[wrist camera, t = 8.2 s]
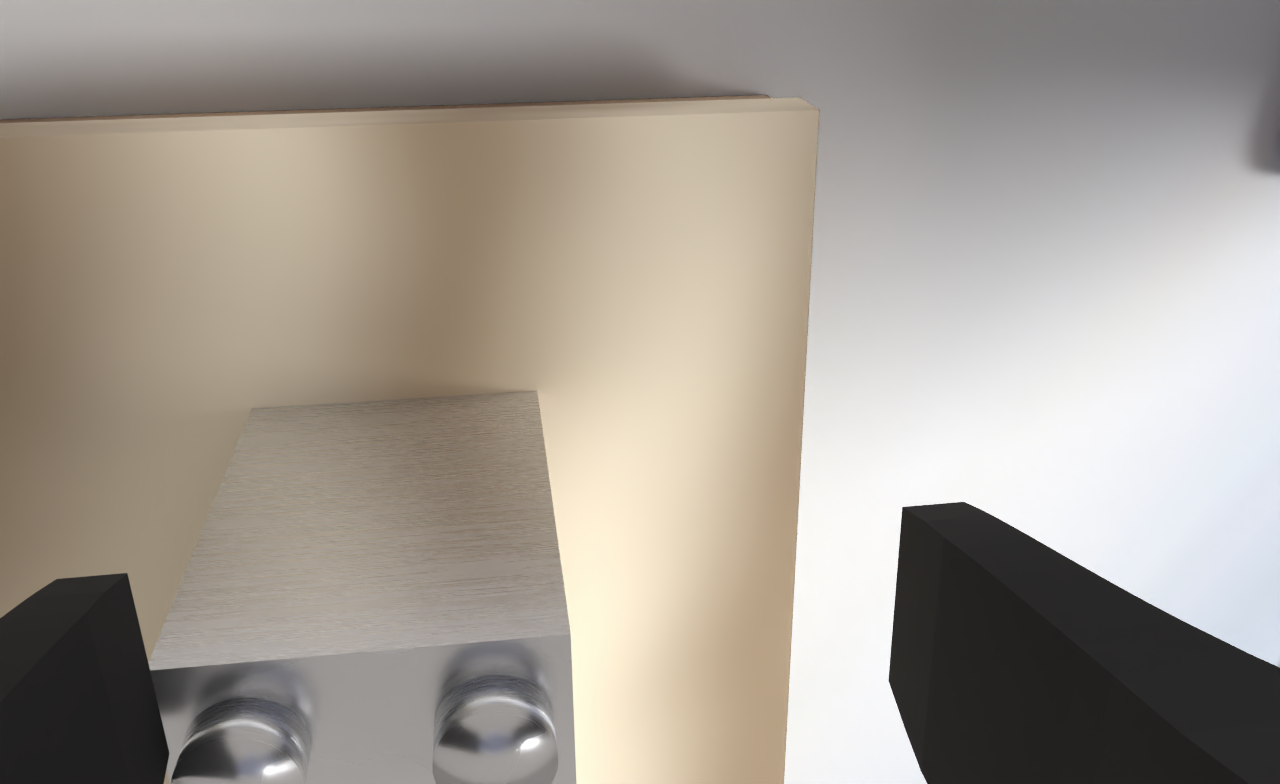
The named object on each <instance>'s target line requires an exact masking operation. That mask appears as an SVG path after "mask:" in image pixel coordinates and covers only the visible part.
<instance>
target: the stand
mask: <svg viewBox="0 0 1280 784" xmlns="http://www.w3.org/2000/svg"><path fill="white" fill-rule="evenodd" d="M818 126H819V109H817V108H816V107H814V106H813V105H811V104H809V103H808V102H806V101H805V100H803V99H802V98H800V97H796V98H770V97H769V96H768V95H754V96H723V97H692V98H660V99H629V100H598V101H567V102H535V103H504V104H473V105H442V106H410V107H379V108H348V109H317V110H285V111H254V112H223V113H192V114H160V115H129V116H98V117H66V118H35V119H4V120H0V618H1V617H3V616H4V615H5V614H7V613H8V612H9V611H11V610H12V609H13V608H15V607H16V606H17V605H19V604H20V603H22V602H23V601H24V600H26V599H27V598H28V597H30V596H31V595H33V594H34V593H36V592H37V591H39V590H40V589H42V588H43V587H45V586H46V585H48V584H50V583H51V582H53V581H54V580H56V579H62V578H74V577H85V576H97V575H109V574H121V573H127V574H128V578H129V582H130V587H131V591H132V595H133V599H134V604H135V608H136V612H137V617H138V621H139V625H140V629H141V634H142V638H143V642H144V647H145V651H146V655H147V659H148V663H149V661H150V658H151V656H152V653H153V651H154V648H155V646H156V643H157V641H158V638H159V636H160V633H161V631H162V628H163V626H164V623H165V621H166V619H167V616H168V614H169V611H170V609H171V606H172V604H173V601H174V599H175V596H176V594H177V591H178V589H179V586H180V584H181V582H182V579H183V577H184V574H185V572H186V569H187V567H188V564H189V562H190V559H191V557H192V554H193V552H194V549H195V547H196V544H197V542H198V540H199V537H200V535H201V532H202V530H203V527H204V525H205V522H206V520H207V517H208V515H209V512H210V510H211V507H212V505H213V503H214V500H215V498H216V495H217V493H218V490H219V488H220V485H221V483H222V480H223V478H224V475H225V473H226V470H227V468H228V465H229V463H230V461H231V458H232V456H233V453H234V451H235V448H236V446H237V443H238V441H239V438H240V436H241V433H242V431H243V428H244V426H245V424H246V421H247V419H248V416H249V414H250V411H251V409H252V408H261V407H278V406H294V405H311V404H327V403H343V402H360V401H376V400H392V399H409V398H425V397H442V396H458V395H474V394H491V393H507V392H523V391H537V392H538V399H539V406H540V414H541V421H542V428H543V436H544V443H545V450H546V457H547V465H548V472H549V479H550V487H551V494H552V501H553V509H554V516H555V523H556V530H557V538H558V545H559V552H560V560H561V567H562V574H563V581H564V589H565V596H566V603H567V611H568V618H569V625H570V632H571V654H572V680H573V706H574V732H575V759H576V784H784V770H785V751H786V732H787V713H788V694H789V675H790V656H791V637H792V618H793V599H794V580H795V561H796V542H797V524H798V505H799V486H800V467H801V448H802V429H803V410H804V391H805V372H806V353H807V334H808V315H809V296H810V277H811V258H812V239H813V220H814V201H815V182H816V164H817V145H818ZM164 784H170V782H169V778H168V773H167V769H166V774H165V779H164Z"/></svg>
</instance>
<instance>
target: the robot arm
mask: <svg viewBox="0 0 1280 784" xmlns="http://www.w3.org/2000/svg"><path fill="white" fill-rule="evenodd" d="M889 683H890V686H891V689H892V692H893V694H894V697H895V700H896V703H897V706H898V709H899V712H900V715H901V718H902V721H903V724H904V726H905V729H906V732H907V735H908V737H909V740H910V743H911V745H912V748H913V751H914V753H915V756H916V759H917V761H918V764H919V767H920V769H921V772H922V774H923V776H924V778H925V780H926V782H927V784H1280V668H1279V667H1277V666H1275V665H1272V664H1270V663H1268V662H1266V661H1264V660H1261V659H1259V658H1257V657H1255V656H1253V655H1251V654H1248V653H1246V652H1244V651H1242V650H1240V649H1238V648H1236V647H1234V646H1232V645H1230V644H1228V643H1226V642H1224V641H1222V640H1220V639H1218V638H1216V637H1214V636H1212V635H1210V634H1208V633H1206V632H1204V631H1202V630H1200V629H1198V628H1196V627H1194V626H1191V625H1189V624H1187V623H1185V622H1183V621H1181V620H1180V619H1178V618H1176V617H1174V616H1172V615H1170V614H1168V613H1166V612H1164V611H1162V610H1161V609H1159V608H1157V607H1155V606H1153V605H1151V604H1149V603H1147V602H1145V601H1144V600H1142V599H1140V598H1138V597H1136V596H1134V595H1133V594H1131V593H1129V592H1127V591H1125V590H1123V589H1122V588H1120V587H1118V586H1116V585H1114V584H1113V583H1111V582H1109V581H1107V580H1105V579H1104V578H1102V577H1100V576H1098V575H1097V574H1095V573H1093V572H1091V571H1089V570H1088V569H1086V568H1084V567H1082V566H1081V565H1079V564H1077V563H1075V562H1074V561H1072V560H1070V559H1068V558H1067V557H1065V556H1063V555H1061V554H1060V553H1058V552H1056V551H1054V550H1053V549H1051V548H1049V547H1047V546H1046V545H1044V544H1042V543H1040V542H1039V541H1037V540H1035V539H1033V538H1032V537H1030V536H1028V535H1026V534H1025V533H1023V532H1021V531H1019V530H1017V529H1016V528H1014V527H1012V526H1010V525H1009V524H1007V523H1005V522H1003V521H1001V520H999V519H998V518H996V517H994V516H992V515H990V514H988V513H986V512H984V511H982V510H980V509H978V508H976V507H974V506H971V505H969V504H967V503H965V502H958V503H946V504H934V505H922V506H911V507H903V508H902V521H901V533H900V546H899V558H898V571H897V583H896V596H895V608H894V621H893V633H892V646H891V658H890V671H889ZM168 759H169V749H168V745H167V741H166V736H165V732H164V728H163V724H162V719H161V715H160V711H159V706H158V702H157V698H156V694H155V689H154V685H153V681H152V676H151V672H150V668H149V664H148V659H147V655H146V651H145V647H144V642H143V638H142V634H141V629H140V625H139V621H138V617H137V612H136V608H135V604H134V599H133V595H132V591H131V587H130V582H129V578H128V574H127V573H121V574H109V575H97V576H85V577H74V578H62V579H56V580H54V581H53V582H51V583H50V584H48V585H46V586H45V587H43V588H42V589H40V590H39V591H37V592H36V593H34V594H33V595H31V596H30V597H28V598H27V599H26V600H24V601H23V602H22V603H20V604H19V605H17V606H16V607H15V608H13V609H12V610H11V611H9V612H8V613H7V614H5V615H4V616H3V617H1V618H0V784H164V779H165V774H166V769H167V764H168Z"/></svg>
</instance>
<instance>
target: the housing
mask: <svg viewBox="0 0 1280 784" xmlns="http://www.w3.org/2000/svg"><path fill="white" fill-rule="evenodd" d="M148 664H149V668H150V672H151V676H152V681H153V685H154V689H155V694H156V698H157V702H158V706H159V711H160V715H161V719H162V724H163V728H164V732H165V736H166V741H167V745H168V749H169V759H168V764H167V773H168V778H169V782H170V784H576V759H575V732H574V706H573V680H572V654H571V632H570V625H569V618H568V611H567V603H566V596H565V589H564V581H563V574H562V567H561V560H560V552H559V545H558V538H557V530H556V523H555V516H554V509H553V501H552V494H551V487H550V479H549V472H548V465H547V457H546V450H545V443H544V436H543V428H542V421H541V414H540V406H539V399H538V392H537V391H523V392H507V393H491V394H474V395H458V396H442V397H425V398H409V399H392V400H376V401H360V402H343V403H327V404H311V405H294V406H278V407H261V408H252V409H251V411H250V414H249V416H248V419H247V421H246V424H245V426H244V428H243V431H242V433H241V436H240V438H239V441H238V443H237V446H236V448H235V451H234V453H233V456H232V458H231V461H230V463H229V465H228V468H227V470H226V473H225V475H224V478H223V480H222V483H221V485H220V488H219V490H218V493H217V495H216V498H215V500H214V503H213V505H212V507H211V510H210V512H209V515H208V517H207V520H206V522H205V525H204V527H203V530H202V532H201V535H200V537H199V540H198V542H197V544H196V547H195V549H194V552H193V554H192V557H191V559H190V562H189V564H188V567H187V569H186V572H185V574H184V577H183V579H182V582H181V584H180V586H179V589H178V591H177V594H176V596H175V599H174V601H173V604H172V606H171V609H170V611H169V614H168V616H167V619H166V621H165V623H164V626H163V628H162V631H161V633H160V636H159V638H158V641H157V643H156V646H155V648H154V651H153V653H152V656H151V658H150V661H149V663H148Z"/></svg>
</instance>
